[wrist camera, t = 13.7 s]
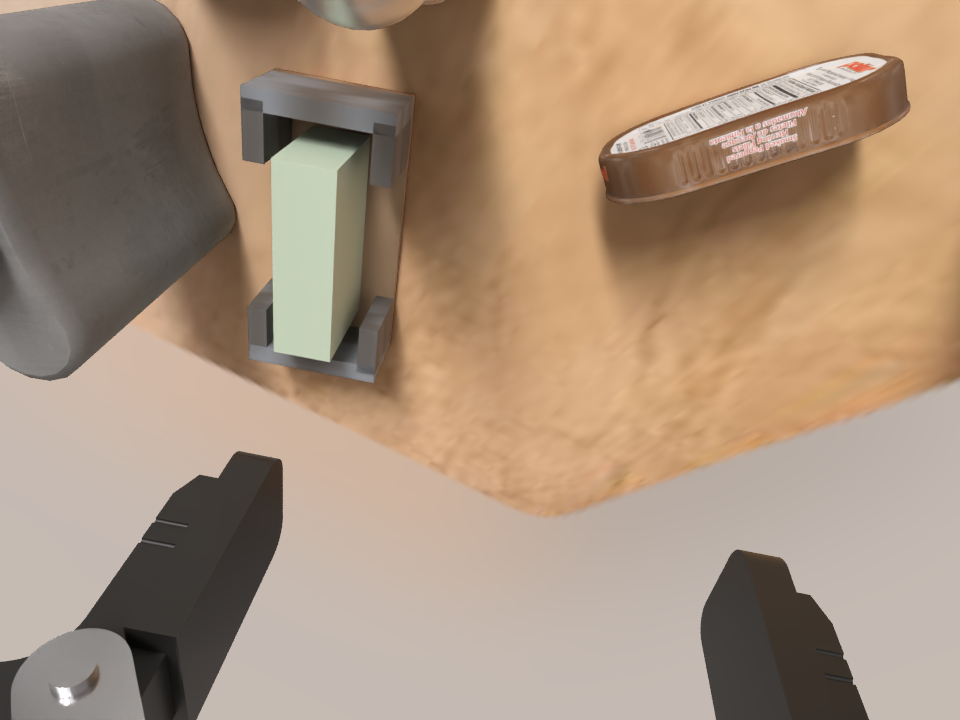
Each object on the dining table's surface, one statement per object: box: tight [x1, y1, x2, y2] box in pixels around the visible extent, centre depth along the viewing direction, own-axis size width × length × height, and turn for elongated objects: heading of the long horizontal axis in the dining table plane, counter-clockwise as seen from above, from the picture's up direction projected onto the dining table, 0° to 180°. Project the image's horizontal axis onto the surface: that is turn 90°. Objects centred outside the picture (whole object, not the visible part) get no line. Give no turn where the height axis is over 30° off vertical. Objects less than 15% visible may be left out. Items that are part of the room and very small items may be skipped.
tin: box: [599, 53, 910, 204], centre depth 35 cm, size 15×3×8 cm, turn 111°
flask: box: [0, 0, 236, 381], centre depth 35 cm, size 15×6×20 cm, turn 5°
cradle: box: [240, 69, 415, 383], centre depth 43 cm, size 8×17×5 cm, turn 171°
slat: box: [271, 126, 370, 362], centre depth 41 cm, size 4×12×7 cm, turn 171°
